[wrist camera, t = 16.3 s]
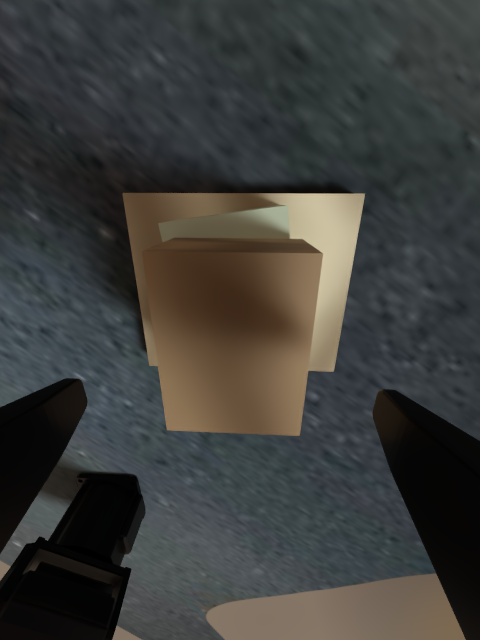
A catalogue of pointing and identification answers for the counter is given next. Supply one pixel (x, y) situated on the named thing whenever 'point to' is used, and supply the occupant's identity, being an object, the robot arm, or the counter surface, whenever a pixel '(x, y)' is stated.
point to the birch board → (304, 223)
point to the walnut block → (233, 331)
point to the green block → (232, 225)
